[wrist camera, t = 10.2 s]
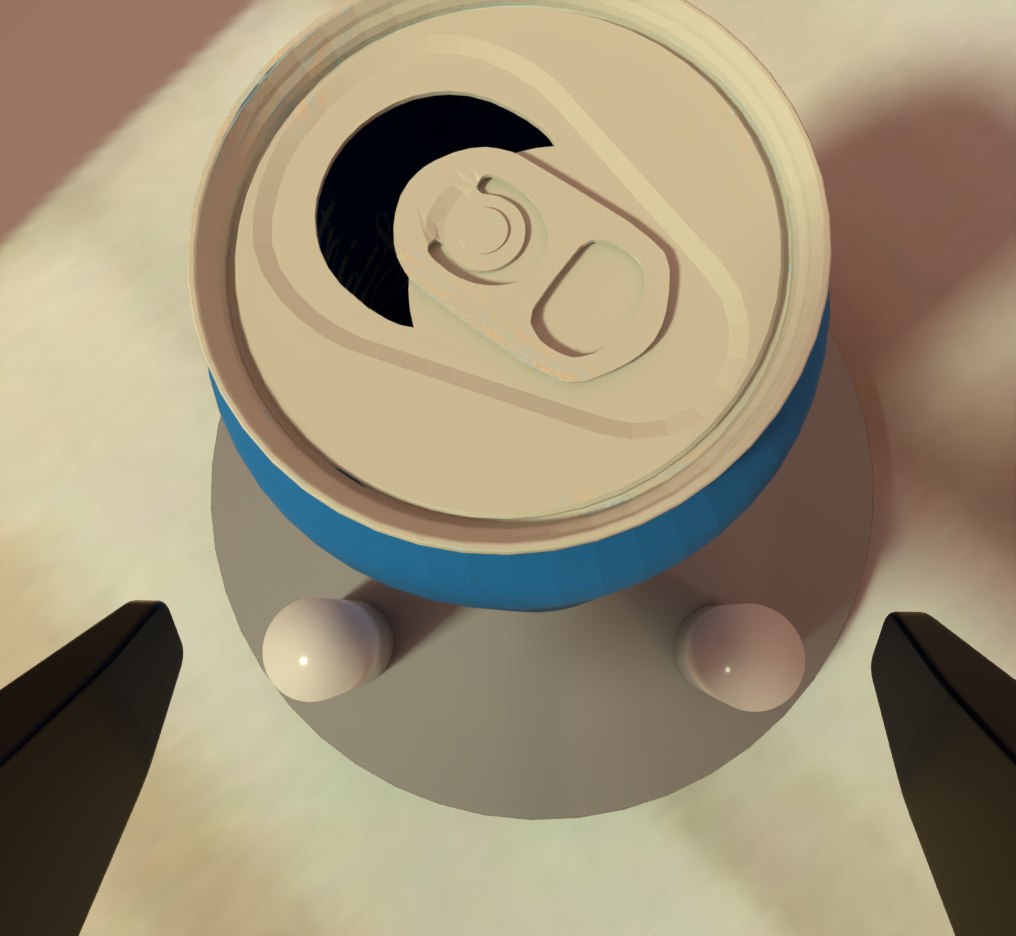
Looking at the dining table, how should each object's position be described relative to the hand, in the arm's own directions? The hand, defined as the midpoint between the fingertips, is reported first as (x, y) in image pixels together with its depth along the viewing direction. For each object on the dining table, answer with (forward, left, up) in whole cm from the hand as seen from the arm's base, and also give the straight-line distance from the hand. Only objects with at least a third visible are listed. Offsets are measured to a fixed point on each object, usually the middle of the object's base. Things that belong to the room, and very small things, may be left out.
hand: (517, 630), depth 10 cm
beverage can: (+4, 0, -8) cm, 9 cm away
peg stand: (+4, 0, -10) cm, 10 cm away
